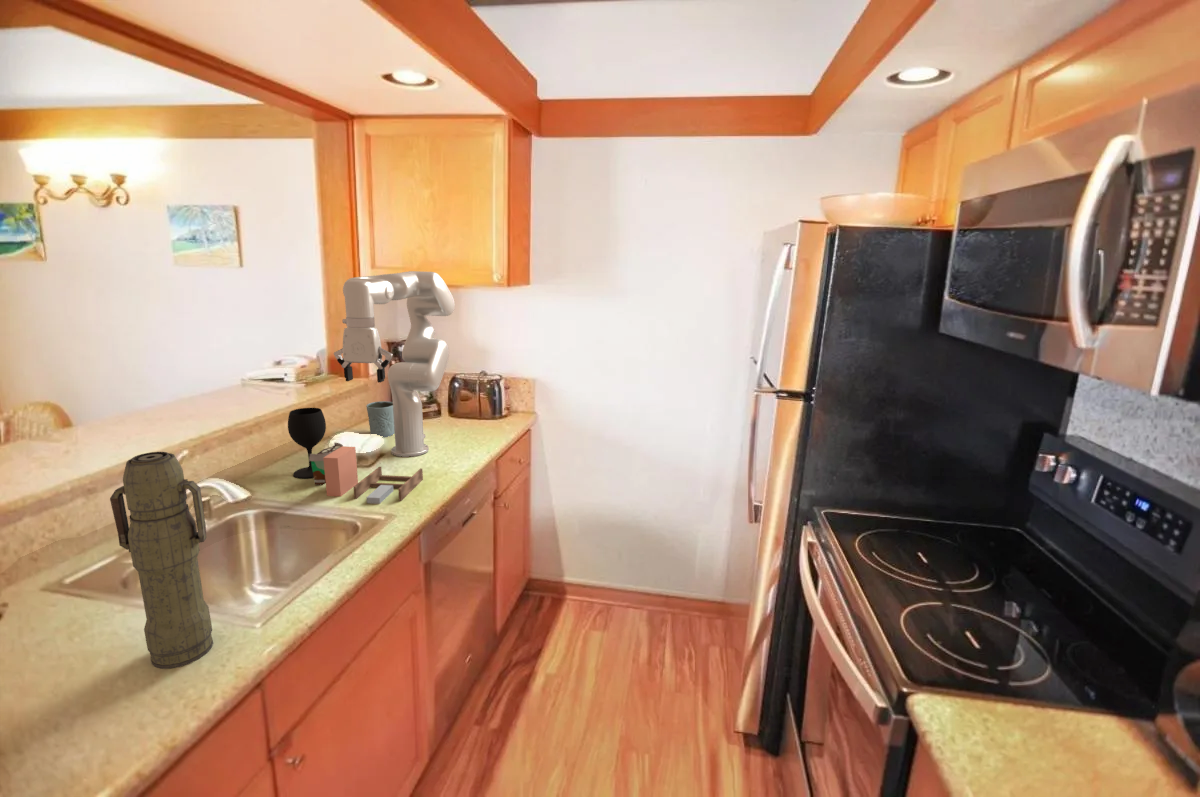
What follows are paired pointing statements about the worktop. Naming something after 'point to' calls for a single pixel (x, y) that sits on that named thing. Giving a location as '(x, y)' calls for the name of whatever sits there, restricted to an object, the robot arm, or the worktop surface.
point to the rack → (377, 475)
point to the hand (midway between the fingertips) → (365, 381)
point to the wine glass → (306, 433)
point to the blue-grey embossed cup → (381, 418)
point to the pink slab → (340, 471)
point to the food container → (321, 463)
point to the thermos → (165, 556)
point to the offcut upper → (380, 494)
